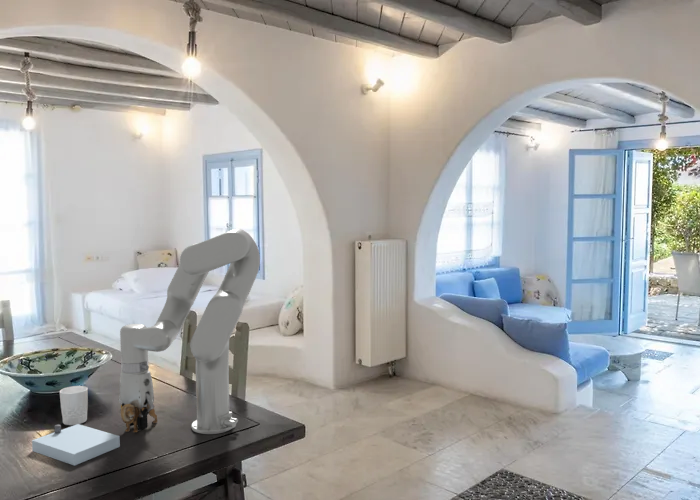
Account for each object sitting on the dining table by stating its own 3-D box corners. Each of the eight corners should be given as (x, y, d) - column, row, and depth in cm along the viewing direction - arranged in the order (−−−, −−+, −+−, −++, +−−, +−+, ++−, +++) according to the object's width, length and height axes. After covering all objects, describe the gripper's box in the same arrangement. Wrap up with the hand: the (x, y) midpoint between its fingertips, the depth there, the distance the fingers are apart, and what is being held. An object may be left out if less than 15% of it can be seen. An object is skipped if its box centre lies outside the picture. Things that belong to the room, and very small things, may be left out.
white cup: (94, 419, 191) (93, 387, 190) (73, 427, 184) (72, 395, 183) (76, 415, 195) (75, 384, 194) (55, 423, 188) (53, 391, 187)
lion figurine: (131, 438, 176) (130, 407, 175) (116, 435, 178) (115, 405, 177) (162, 420, 190) (161, 391, 189) (147, 418, 192) (146, 390, 191)
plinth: (119, 446, 170) (119, 429, 170) (74, 465, 158) (73, 446, 158) (78, 434, 179) (77, 417, 179) (32, 451, 167) (31, 433, 167)
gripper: (165, 367, 180) (166, 428, 181) (126, 360, 188) (127, 418, 190) (144, 374, 173) (146, 437, 175) (105, 365, 182) (107, 426, 183)
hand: (136, 426), depth 182 cm, fingers closed on lion figurine, 4 cm apart
